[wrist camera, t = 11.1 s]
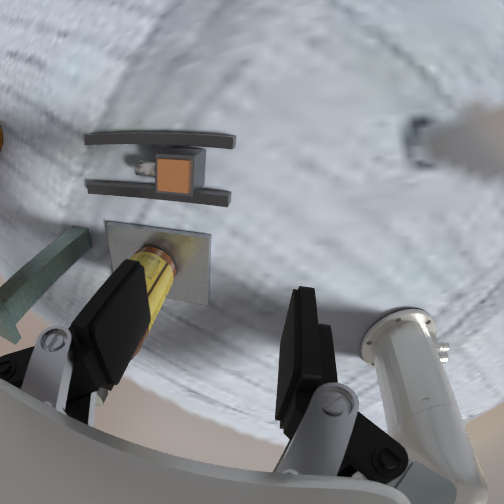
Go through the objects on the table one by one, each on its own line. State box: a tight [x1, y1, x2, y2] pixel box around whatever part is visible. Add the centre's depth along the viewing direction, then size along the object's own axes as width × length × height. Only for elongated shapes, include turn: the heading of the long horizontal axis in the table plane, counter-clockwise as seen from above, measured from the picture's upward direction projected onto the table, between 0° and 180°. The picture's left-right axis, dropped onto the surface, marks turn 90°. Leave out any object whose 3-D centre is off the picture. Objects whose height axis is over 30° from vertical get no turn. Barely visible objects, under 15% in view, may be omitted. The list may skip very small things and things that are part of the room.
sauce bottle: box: [95, 246, 176, 406], centre depth 27 cm, size 6×6×20 cm
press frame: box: [0, 132, 236, 344], centre depth 25 cm, size 24×22×19 cm
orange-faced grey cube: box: [135, 147, 206, 197], centre depth 28 cm, size 7×4×4 cm, turn 84°
